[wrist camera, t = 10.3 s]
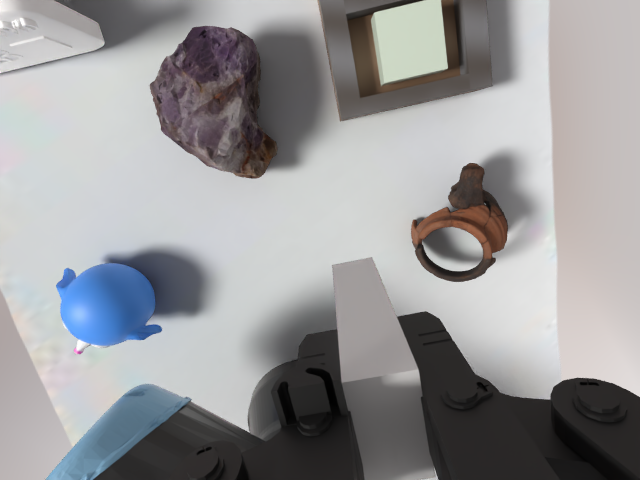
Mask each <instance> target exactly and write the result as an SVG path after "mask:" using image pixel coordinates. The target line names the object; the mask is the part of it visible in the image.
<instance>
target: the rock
mask: <svg viewBox="0 0 640 480" xmlns="http://www.w3.org/2000/svg"><path fill="white" fill-rule="evenodd" d="M260 74H261V70H260V57H259V54H258V52H257V48H256V45H255V43H254V41H253V40H252V39H250V38H249V37H248V36H247V35H245V34H243V33H242V32H240V31H239V30H236V29H234V28H231V27H230V28H228V29H225V28H220V27H214V26H202V27H193V28H192V30H191V31H190V32H189V34H188V35H187V37H186V39H185V40H184V41H183V43H181V44H179V45H178V47H177V49H176V51H175V52H174V53H173V55H171V56H168V57H166V58H165V59H164V61H163V63H162V65H161V67H160V70H159V72H158V75H157V78H156V79H155V81H154V82H152V83H151V84H150V90H151V94H152V96H153V97H154V98H153V101H154V103H155V107H156V109H157V115H158V117H159V121H160V124H161V131H162V132H163V133H164V134H165V135H166V136H168V137H169V138H171V139H172V140H173V141H174V142H175V143H177V144H178V145H179V146H180V147H182V148H183V149H184V150H185V151H186V152H188V153H190V154H193V155H195V156H196V157H197V158H199V159H200V160H201V161H202V162H203V163H204V164H206V165H207V166H209V167H213V168H216V169H218V170H221V171H226V172H231V173H234V174H235V175H236V176H239V177H246V178H259V177H261V176H262V175H263V174H264V173H265V171H266V169H267V167H268V165H269V163H270V160H271V159H272V158H273V157H274V156H275V155H276V154H277V153H276V152H277V149H278V148H277V144H276V142H275V141H273V140H272V139H271V138H270V137H269V136H268V135H266V134H265V133H264V132H263V129H262V128H261V127H260V126H258V124H257V109H258V107H259V103H260V99H259V94H258V84H259V81H260Z"/></svg>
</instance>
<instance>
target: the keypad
mask: <svg viewBox="0 0 640 480" xmlns="http://www.w3.org/2000/svg"><path fill="white" fill-rule="evenodd" d="M420 1H424V0H318V5H319V10H320V16H321V21H322V26H323V32H324V37H325V42H326V48H327V53H328V58H329V64H330V69H331V74H332V80H333V85H334V90H335V96H336V101H337V106H338V112H339V117H340V121H344V120H348V119H353V118H357V117H361V116H366V115H370V114H375V113H379V112H384V111H388V110H393V109H397V108H402V107H406V106H411V105H415V104H419V103H424V102H428V101H433V100H437V99H442V98H446V97H451V96H455V95H460V94H464V93H469V92H473V91H477V90H481V89H484V88H487V87H491V86H492V73H491V59H490V45H489V31H488V17H487V3H486V0H441V7H442V17H443V26H444V36H445V46H446V55H447V65H448V69H446V70H444V71H442V72H441V73H436V74H432V75H428V76H423V77H419V78H414V79H410V80H406V81H401V82H397V83H393V84H388V85H384V86H381V83H380V76H379V70H378V63H377V57H376V50H375V44H374V37H373V31H372V24H371V19H372V16H373V14H374V13H375V12H379V11H383V10H387V9H391V8H395V7H399V6H403V5H408V4H412V3H416V2H420Z"/></svg>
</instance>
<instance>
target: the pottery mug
mask: <svg viewBox="0 0 640 480" xmlns="http://www.w3.org/2000/svg"><path fill="white" fill-rule="evenodd" d="M483 175H484V168H482V167H481V166H479V165H478V164H476V163H469V164H467V165H466V166H464V167H463V168H462V171H461V174H460V180H459V182H458V183H456V184H455V185H453V186H452V187H451V192H450V195H449V196H448V199H449V201H450V203H451V205H452V206H453V207H455V208H458V210H456V211H454V212H450V210H449V208H448V207H446V208H443V209H441V210H439V211H437V212H435V213H432V214H431V215H430V216H428V217H427V218H426V219H424V220H422V221H421V222H420V223H419V225H418V226H417V221H416V220H413V222H412V228H411V236H412V243H413V245H414V247H415V249H416V250H415V253H416V255H417V258H418V260H419V261H420V263H421V265H422V266H423V267H424V268H425V269H426V270H427V271H429V272H430V273H433V274H434V275H435V276H437V277H438V278H442V279H445V280H447V281H453V282H464V281H469V280H472V279H475V278H477V277H479V276H481V275H483V274H484V273H485V272H486V270H487V269H488V268H489V267H490V266H492V265H493V264H494V263H495V261H496V259H495V258H492V253H495V252H497V251H500V250H502V249H503V248H504V246H505V243H506V241H507V231H508V225H507V220H506V218H505V216H504V213H503V212H502V210H501V208H500V207H499V205H498V203H497V201H496V200H495V198H494V197H493V196H492V195H491V194H490V193H488V192H486V191H485V190H483V189H482V181H483ZM484 202H485V203H486V205H487V206H486V205H484ZM444 227H456V228H460V229H463V230H465V231H467V232H469V233H471V234H472V235H473V236H475V237H476V238H477V239H478V241H479V242H480V243H481V246H482V248H483V259H482V261H481V262H480V264H479V265H477V266H476V267H475V268H473V269H471V270H468V271H450V270H447V269H444V268H441V267H440V266H438V265H436V264H435V263H433V262H432V261H431V260H430V259H429V258H428V256H427V255H426V253H425V250H424V247H423V245H422V239H425V238H426V237H427V236H428V235H429V234H430V233H431V232H432V231H434V230H436V229H439V228H444Z"/></svg>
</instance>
